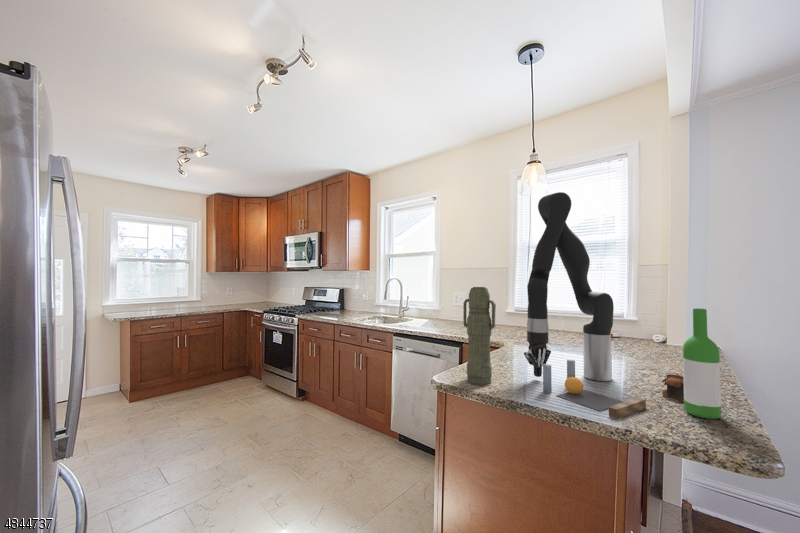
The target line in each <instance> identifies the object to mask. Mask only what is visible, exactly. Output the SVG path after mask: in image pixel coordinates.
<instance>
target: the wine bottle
mask: <svg viewBox="0 0 800 533" xmlns="http://www.w3.org/2000/svg"><path fill="white" fill-rule="evenodd" d="M720 357H721V356H720V349H719V347H718V345H717V344H716V343H715V342H714V341H713V340H712V339H711V338H709V336H708V312H707V309H706V308H692V336H691V337H688V338H687V339H686V340H685V342H684V343H683V346H682V360H683V361H682V369H683V371H682V372H683V375H682V376H683V379H684V402H683V407H684V410H685V411H686V413H688V414H690V415H692V416H695V417H698V418H703V419H708V420H717V419H719V418H720V417H721V416H722V397H721V396H722V395H721V394H722V393H721V392H722V390H721V387H722V386H721V360H720Z"/></svg>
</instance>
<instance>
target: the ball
mask: <svg viewBox="0 0 800 533" xmlns="http://www.w3.org/2000/svg"><path fill="white" fill-rule="evenodd" d="M564 388H565V390H566V391H567V393H568V392H569V393H571V394H580V393H581V392H582V391H583V389H584V384H583V381H582V380H581V379H580V378H578V377H577V376H575V377H570V378H568V379H567V378H566V379H565V381H564Z"/></svg>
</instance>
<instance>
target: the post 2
mask: <svg viewBox="0 0 800 533" xmlns="http://www.w3.org/2000/svg"><path fill="white" fill-rule="evenodd" d="M570 377H576V360H574V359H566V380H567V379H568V378H570Z"/></svg>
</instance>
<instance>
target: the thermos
mask: <svg viewBox="0 0 800 533" xmlns="http://www.w3.org/2000/svg"><path fill="white" fill-rule="evenodd" d="M490 298H491V297H490V292H489V290H488V288H487V287H484V286H473V287H471V288H470V289H469V293H468V298H466V299H465V300H463V326H464V327H465V328H466V334H467V337H468V339H467V340H468V342H467V343H468V346H467V348H468V352H467V354H468V355H467V357H468V359H467V360H468V361H467V363H466V375H467V380H466V381H467V383H469V384H471V385H475V386H482V387H483V386H490V385H491V383H492V374H493V373H492V372H493V369H492V367H493V366H492V363H491V336H492V330H493V329H494V328H495V327H496V310H497V308H496V303H495V301H494V300H492V299H490ZM467 303H468V309H469V310H468V316H467ZM490 304H491V305H490ZM490 308H491V312H490ZM490 313H491V314H490ZM490 315H491V316H490Z"/></svg>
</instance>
